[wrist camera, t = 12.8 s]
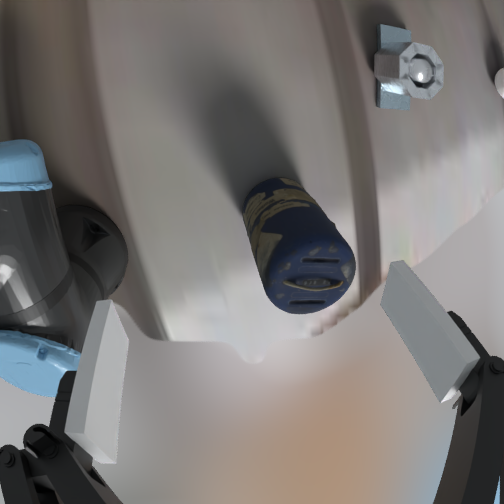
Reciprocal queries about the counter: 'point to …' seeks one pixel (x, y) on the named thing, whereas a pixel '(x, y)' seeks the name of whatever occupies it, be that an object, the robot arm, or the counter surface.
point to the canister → (296, 248)
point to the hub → (407, 69)
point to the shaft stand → (417, 72)
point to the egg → (500, 82)
